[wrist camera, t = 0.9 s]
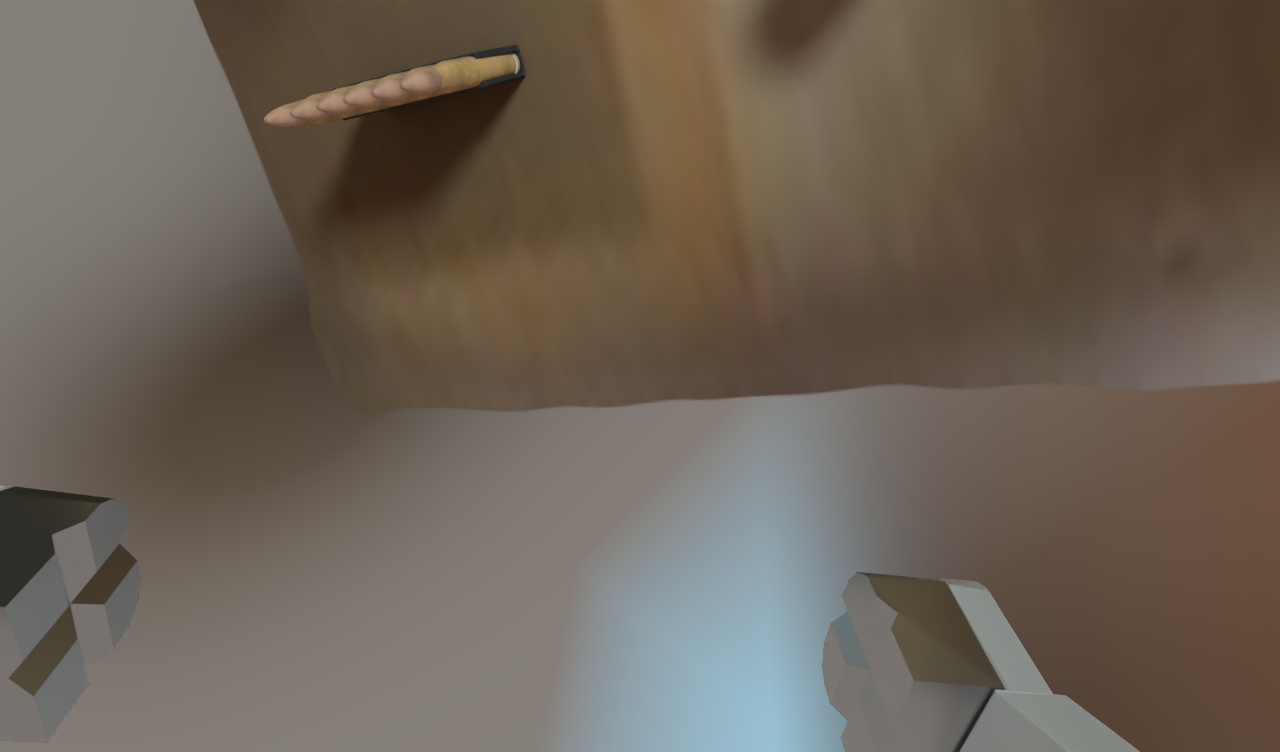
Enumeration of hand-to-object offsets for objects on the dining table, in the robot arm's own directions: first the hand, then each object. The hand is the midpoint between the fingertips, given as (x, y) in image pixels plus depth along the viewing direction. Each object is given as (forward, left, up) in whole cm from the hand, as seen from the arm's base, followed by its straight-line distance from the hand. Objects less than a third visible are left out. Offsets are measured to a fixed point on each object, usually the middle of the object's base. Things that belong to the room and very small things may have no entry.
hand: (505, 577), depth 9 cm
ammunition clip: (+10, -21, -40) cm, 47 cm away
